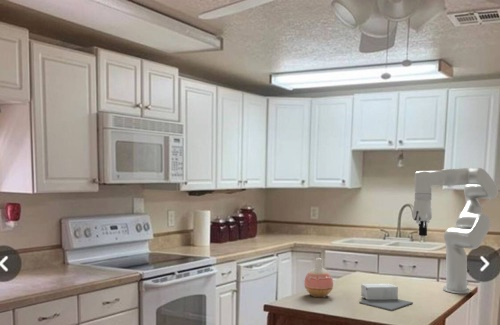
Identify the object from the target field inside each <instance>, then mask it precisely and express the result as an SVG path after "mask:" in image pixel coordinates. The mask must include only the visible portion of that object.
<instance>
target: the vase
mask: <svg viewBox="0 0 500 325" xmlns="http://www.w3.org/2000/svg"><path fill="white" fill-rule="evenodd" d="M303 285H304V289H305V291H306V292H307V293H308V294H309V295H310V296H311V297H313V298H326V297H327V296H328V295H329V294H330V293H331V292H332V291H333V289H334V279H333V277H332V275H331V274H330V272H329V271H328V270H326V269H325V268H324V267H323V257H322V258H321V257H316V258H315V266H314V268H312V269H310V270H309V271H308V273H306V275H305V277H304V280H303Z"/></svg>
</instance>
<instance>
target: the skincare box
mask: <svg viewBox="0 0 500 325" xmlns="http://www.w3.org/2000/svg"><path fill="white" fill-rule="evenodd" d="M360 287H361V292H360V296H361V297H363V298H364V299H365V300H396V299H399V288H398V286H396V285H395V284H392V283H361V286H360Z"/></svg>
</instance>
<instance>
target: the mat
mask: <svg viewBox="0 0 500 325" xmlns="http://www.w3.org/2000/svg"><path fill="white" fill-rule="evenodd" d="M359 304H361V305H366V306H369V307H373V306H374V307H373V308H377V307H378V308H377V309H383V310H386V311H391V312H394V311H395V310H398V309H401V308H404V307H408V306H411V305H413V304H414V302H413V301H409V300H403V299H399V298H398V299H396V300H367V299H365V300H361V301H359Z"/></svg>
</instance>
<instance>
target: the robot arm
mask: <svg viewBox="0 0 500 325" xmlns="http://www.w3.org/2000/svg"><path fill="white" fill-rule="evenodd" d="M463 185H464V188H463V194H464V198H465V205H464V207H463V209H462V210H461V212H460V214H459V215H458V217H457V218H456V220H455V225H456V227H449V228H447V229H446V230H445V231H444V235H443V240H444V243H445V252H446V253H445V254H446V260H445V264H446V265H445V266H446V267H445V274H446V276H445V278H446V279H445V283H446V284H445V286H443V287H442V290H443V291H444V292H448V293H452V294H458V295H459V294H462V295H463V294H465V295H466V294H470V293H471V289H470V288H468V285H470V284H469V281H468V269H467V268H468V256H467V253H466V251H465V249H469V250H476V249H478V248H479V247H480V246H481V244H483V241H484V239H485V237H487V234H488V233H489V231H490V228H491V219H490V217H489V216H488V215H487V214H484V213H483V206H482V204H481V203H480V201H479V199H482V200H493V199H496V198H497V197H498V195H499V188H498V185H497V183H496V182H495V181H494V179H493V178H492V177H491V175H490V174H489V173H488V172H487V171H486V170H485V169H484V168H481V167H462V168H461V167H460V168H445V169H437V170H419V171H416V172H415V173H414V200H413V201H414V202H413V209H412V210H413V211H412V219H413V221H416V222H415V224H417V225H418V236H420V237H426V236H428V226H429V225H428V224H429V223H430V221H431V220H432V215H433V213H432V212H433V211H432V210H433V209H432V187H438V188H439V187H443V186H446V187H450V186H451V187H453V186H454V187H455V186H463Z"/></svg>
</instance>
